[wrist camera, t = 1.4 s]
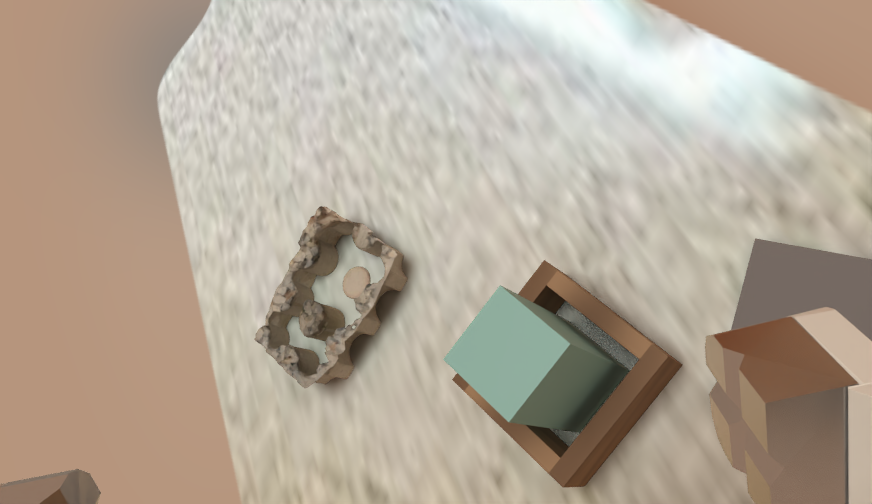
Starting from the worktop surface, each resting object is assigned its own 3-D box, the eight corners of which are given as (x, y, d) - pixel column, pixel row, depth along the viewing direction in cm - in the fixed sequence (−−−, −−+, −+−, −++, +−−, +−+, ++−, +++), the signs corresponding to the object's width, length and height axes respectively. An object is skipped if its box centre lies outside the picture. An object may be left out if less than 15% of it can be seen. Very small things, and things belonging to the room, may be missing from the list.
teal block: (629, 370, 41) (570, 343, 33) (579, 432, 42) (508, 422, 33) (569, 321, 44) (500, 285, 35) (523, 381, 44) (443, 359, 36)
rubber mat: (960, 278, 35) (962, 276, 35) (916, 469, 34) (917, 469, 34) (756, 241, 40) (755, 238, 39) (712, 408, 39) (710, 407, 38)
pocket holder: (682, 364, 40) (668, 356, 37) (584, 486, 41) (562, 487, 38) (565, 274, 44) (544, 260, 41) (478, 385, 45) (452, 379, 42)
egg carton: (355, 214, 53) (321, 195, 50) (428, 269, 49) (395, 253, 46) (272, 338, 54) (232, 328, 51) (336, 402, 50) (298, 396, 47)
